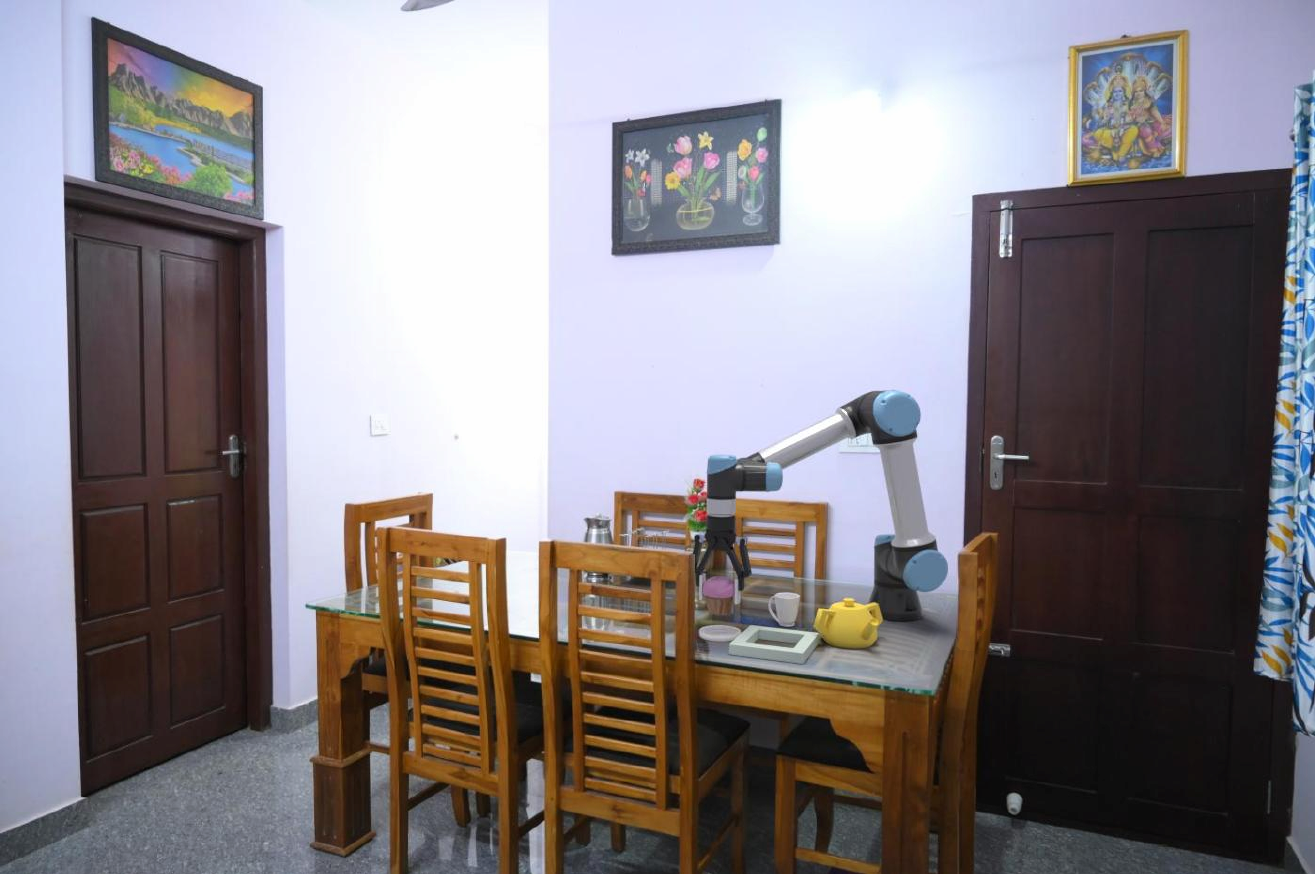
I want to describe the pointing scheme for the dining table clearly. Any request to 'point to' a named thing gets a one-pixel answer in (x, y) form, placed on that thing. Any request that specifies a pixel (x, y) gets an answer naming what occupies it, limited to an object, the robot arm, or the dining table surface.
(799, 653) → the frame
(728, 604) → the cupcake
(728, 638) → the plate
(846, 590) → the dining table surface
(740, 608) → the dining table surface
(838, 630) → the teapot
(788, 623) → the cup
